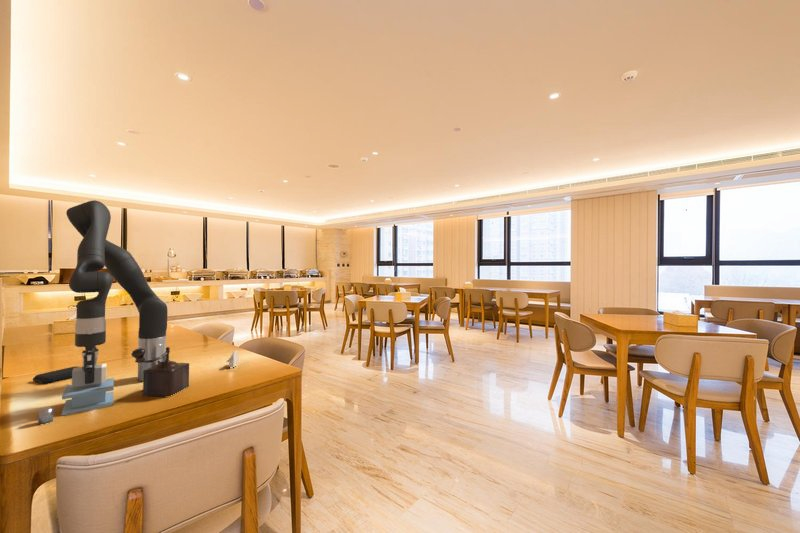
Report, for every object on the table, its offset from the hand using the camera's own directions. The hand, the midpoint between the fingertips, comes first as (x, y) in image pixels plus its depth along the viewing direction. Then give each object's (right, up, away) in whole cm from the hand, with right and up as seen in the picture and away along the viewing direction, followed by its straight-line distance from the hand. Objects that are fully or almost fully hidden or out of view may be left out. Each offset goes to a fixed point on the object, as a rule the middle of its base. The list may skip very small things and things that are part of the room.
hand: (90, 380), depth 109 cm
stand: (0, -8, 0) cm, 8 cm away
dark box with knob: (+17, -8, +10) cm, 21 cm away
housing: (0, 0, 0) cm, 0 cm away
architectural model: (+27, -9, +43) cm, 51 cm away
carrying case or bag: (-35, -8, +25) cm, 44 cm away
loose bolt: (-1, -8, -13) cm, 15 cm away
